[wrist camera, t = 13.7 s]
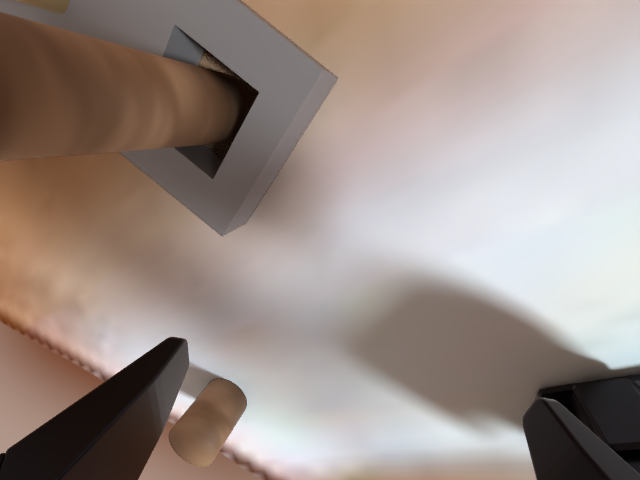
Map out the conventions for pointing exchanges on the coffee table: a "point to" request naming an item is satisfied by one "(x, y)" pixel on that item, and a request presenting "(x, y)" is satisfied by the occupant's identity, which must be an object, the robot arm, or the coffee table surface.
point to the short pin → (208, 422)
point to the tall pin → (105, 96)
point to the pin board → (188, 46)
